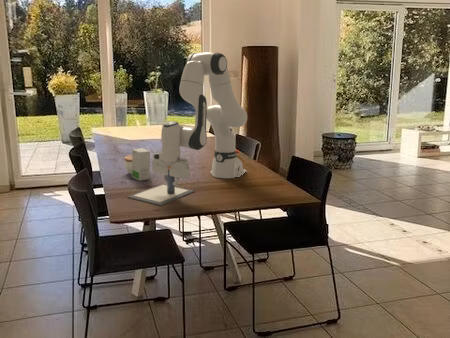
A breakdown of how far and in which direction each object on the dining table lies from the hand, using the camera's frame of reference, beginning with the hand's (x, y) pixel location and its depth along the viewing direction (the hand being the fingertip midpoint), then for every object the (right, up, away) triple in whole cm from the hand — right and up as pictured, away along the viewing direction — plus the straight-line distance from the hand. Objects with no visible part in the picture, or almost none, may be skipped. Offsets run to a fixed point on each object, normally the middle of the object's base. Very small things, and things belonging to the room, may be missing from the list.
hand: (171, 184), depth 223 cm
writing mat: (-5, -5, +2) cm, 7 cm away
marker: (0, -4, +1) cm, 4 cm away
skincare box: (-19, +2, +28) cm, 34 cm away
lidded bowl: (-24, +5, +38) cm, 45 cm away
